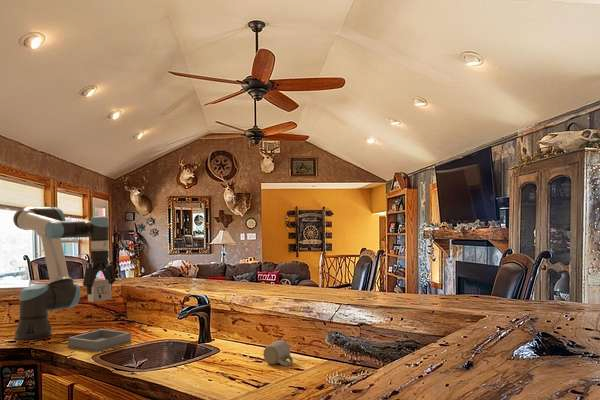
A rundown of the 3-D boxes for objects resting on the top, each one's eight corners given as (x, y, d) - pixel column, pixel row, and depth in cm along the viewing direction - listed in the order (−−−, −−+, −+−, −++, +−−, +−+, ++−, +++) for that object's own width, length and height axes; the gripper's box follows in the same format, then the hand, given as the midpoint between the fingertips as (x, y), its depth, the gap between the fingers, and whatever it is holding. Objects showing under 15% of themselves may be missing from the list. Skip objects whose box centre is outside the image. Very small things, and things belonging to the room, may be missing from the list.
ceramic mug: (261, 363, 176) (261, 343, 176) (274, 358, 183) (274, 338, 183) (285, 368, 170) (285, 347, 171) (297, 363, 177) (297, 342, 178)
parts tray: (67, 347, 201) (67, 337, 201) (101, 337, 217) (101, 328, 217) (97, 352, 193) (98, 342, 193) (130, 341, 209) (130, 332, 210)
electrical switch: (95, 302, 209) (94, 281, 210) (87, 302, 211) (86, 281, 212) (112, 299, 217) (111, 279, 218) (104, 299, 219) (103, 279, 220)
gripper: (86, 251, 204) (85, 304, 202) (124, 248, 224) (124, 296, 222) (73, 251, 207) (73, 303, 205) (112, 248, 227) (112, 295, 225)
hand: (99, 299), depth 214 cm, fingers closed on electrical switch, 9 cm apart
